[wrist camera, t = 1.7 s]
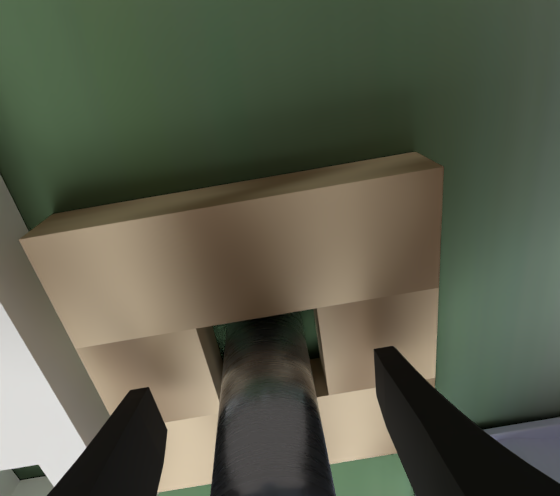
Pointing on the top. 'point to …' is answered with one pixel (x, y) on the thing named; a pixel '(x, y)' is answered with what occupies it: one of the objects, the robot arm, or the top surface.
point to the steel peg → (269, 414)
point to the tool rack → (37, 374)
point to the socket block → (252, 292)
